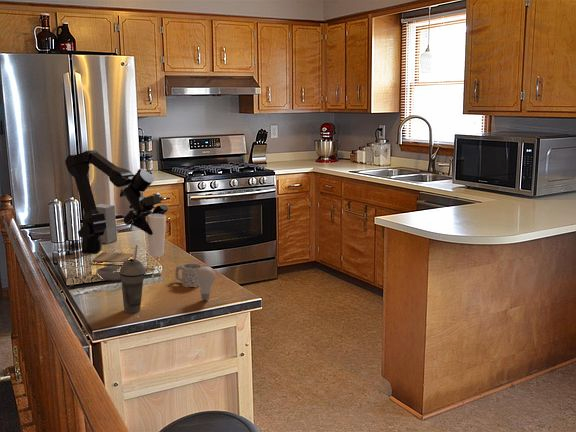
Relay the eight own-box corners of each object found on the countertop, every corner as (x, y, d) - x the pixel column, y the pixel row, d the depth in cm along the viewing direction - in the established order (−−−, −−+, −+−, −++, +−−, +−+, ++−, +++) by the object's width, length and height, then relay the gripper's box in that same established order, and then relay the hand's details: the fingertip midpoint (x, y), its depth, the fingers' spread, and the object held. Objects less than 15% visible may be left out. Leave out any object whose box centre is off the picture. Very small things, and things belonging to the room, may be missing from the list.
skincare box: (117, 241, 255) (117, 205, 252) (105, 244, 249) (105, 207, 246) (102, 238, 259) (101, 202, 256) (90, 241, 253) (89, 205, 250)
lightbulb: (218, 299, 189) (219, 265, 187) (209, 304, 184) (210, 270, 181) (201, 296, 191) (201, 263, 189) (191, 301, 185) (192, 267, 183)
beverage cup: (122, 306, 178) (122, 241, 175) (146, 306, 179) (147, 242, 175) (117, 314, 171) (117, 247, 167) (142, 315, 172) (143, 248, 168)
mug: (205, 284, 204) (205, 265, 203) (194, 289, 198) (195, 269, 197) (181, 279, 208) (181, 260, 207) (169, 283, 202) (170, 265, 201)
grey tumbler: (167, 253, 224) (167, 214, 220) (162, 258, 217) (162, 218, 214) (150, 251, 224) (150, 213, 221) (144, 256, 217) (144, 217, 214)
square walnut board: (92, 264, 220) (92, 260, 219) (102, 255, 232) (102, 252, 231) (125, 265, 220) (125, 261, 220) (132, 257, 232) (132, 253, 231)
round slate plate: (91, 279, 202) (91, 275, 201) (103, 269, 214) (103, 265, 214) (130, 281, 202) (130, 277, 202) (139, 270, 215) (139, 266, 214)
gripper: (129, 188, 209) (152, 223, 206) (165, 183, 225) (187, 216, 222) (113, 207, 215) (135, 242, 212) (149, 201, 231) (170, 233, 228)
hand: (158, 232), depth 218 cm, fingers closed on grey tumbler, 6 cm apart
